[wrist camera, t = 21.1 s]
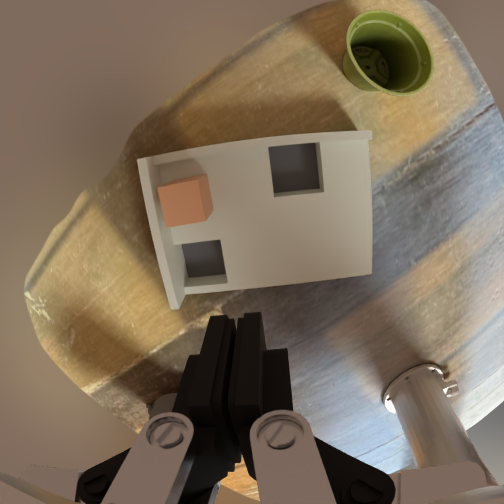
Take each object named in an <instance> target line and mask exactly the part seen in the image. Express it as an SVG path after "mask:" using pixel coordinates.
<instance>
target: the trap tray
mask: <svg viewBox="0 0 504 504" xmlns="http://www.w3.org/2000/svg"><path fill="white" fill-rule="evenodd" d="M368 140H373V139H372V130H369V131H339V132H321V133H306V134H294V135H284V136H274V137H265V138H256V139H248V140H241V141H234V142H227V143H220V144H214V145H208V146H202V147H196V148H191V149H185V150H180V151H175V152H170V153H165V154H160V155H156V156H151V157H145V158H141V159H137V163H138V169H139V175H140V180H141V185H142V191H143V196H144V201H145V206H146V211H147V215H148V220H149V225H150V229H151V234H152V238H153V242H154V247H155V251H156V255H157V259H158V263H159V267H160V271H161V275H162V279H163V282H164V286H165V290H166V293H167V297H168V301H169V304H170V308H171V309H179V308H180V306H181V304H182V302H183V299H184V297H185V295H186V294H197V293H209V292H220V291H231V290H241V289H251V288H261V287H270V286H280V285H289V284H298V283H306V282H315V281H323V280H331V279H339V278H347V277H354V276H362V275H369V274H372V193H371V173H370V158H369V146H368ZM204 174H207V176H208V182H209V187H210V192H211V197H212V202H213V208H214V210H213V212H212V213H211V214H210V216H209V217H208V219H207V220H206V221H204V222H198V223H192V224H186V225H180V226H175V227H169V228H166V224H165V220H164V215H163V211H162V207H161V202H160V198H159V193H158V189H157V188H158V187H160V186H162V185H164V184H167V183H169V182H171V181H174V180H179V179H184V178H188V177H193V176H199V175H204Z"/></svg>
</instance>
